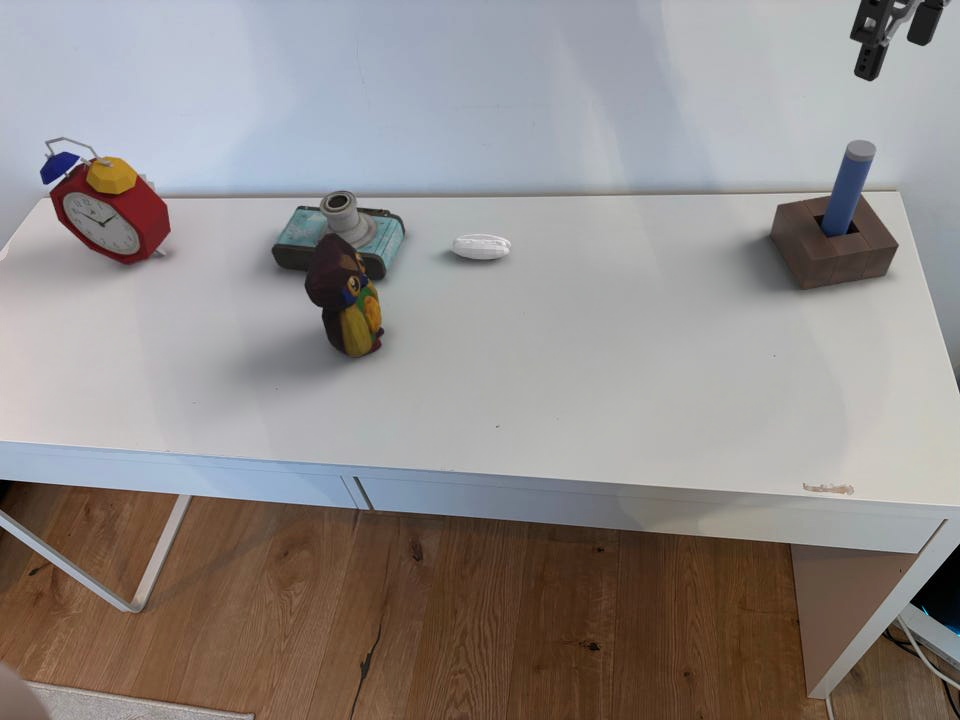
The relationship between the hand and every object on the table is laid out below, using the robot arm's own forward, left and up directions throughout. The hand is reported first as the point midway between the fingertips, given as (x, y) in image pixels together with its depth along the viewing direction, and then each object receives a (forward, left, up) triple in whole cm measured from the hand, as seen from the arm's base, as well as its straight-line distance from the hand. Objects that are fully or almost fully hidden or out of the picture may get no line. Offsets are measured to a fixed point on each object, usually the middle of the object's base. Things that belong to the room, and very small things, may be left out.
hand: (891, 59), depth 72 cm
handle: (0, 0, -26) cm, 26 cm away
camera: (+62, -17, -26) cm, 69 cm away
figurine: (+60, +1, -26) cm, 65 cm away
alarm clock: (+93, -26, -26) cm, 100 cm away
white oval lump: (+43, -11, -26) cm, 52 cm away
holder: (0, 0, -26) cm, 26 cm away
